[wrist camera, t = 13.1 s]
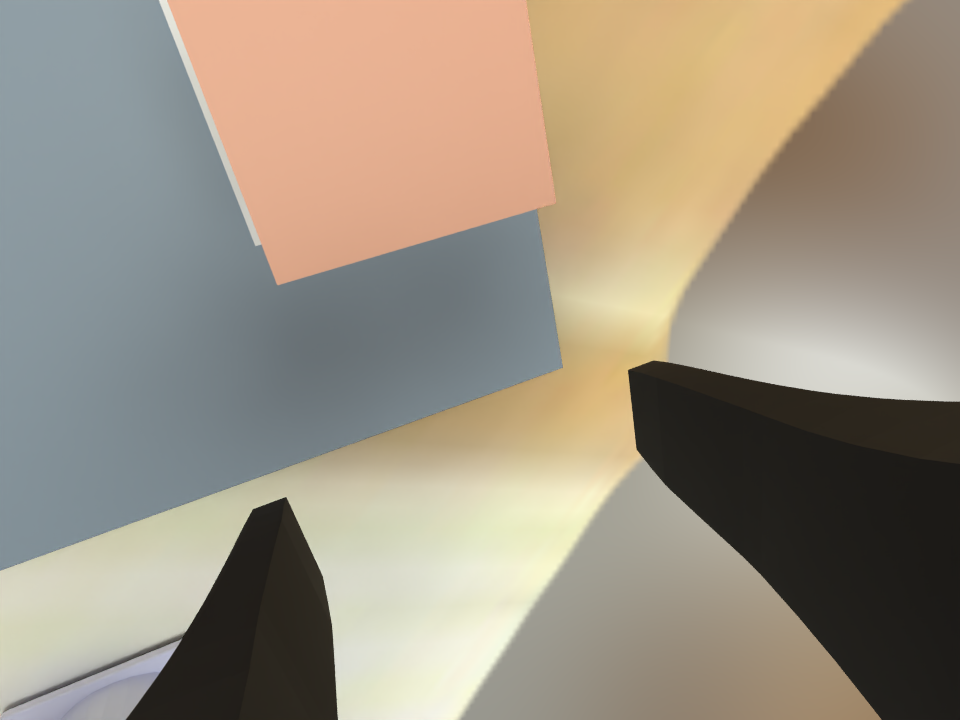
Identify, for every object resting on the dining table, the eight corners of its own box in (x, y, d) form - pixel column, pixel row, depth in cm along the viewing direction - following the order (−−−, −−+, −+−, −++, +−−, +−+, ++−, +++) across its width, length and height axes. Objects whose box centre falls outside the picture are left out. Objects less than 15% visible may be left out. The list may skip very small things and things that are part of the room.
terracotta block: (464, 177, 14) (556, 203, 9) (275, 229, 13) (277, 285, 8) (415, -48, 12) (503, -151, 7) (187, -6, 11) (130, -95, 6)
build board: (554, 360, 23) (565, 369, 23) (-42, 572, 19) (-57, 594, 18) (477, -84, 17) (489, -95, 16) (-460, 80, 12) (-516, 77, 12)
